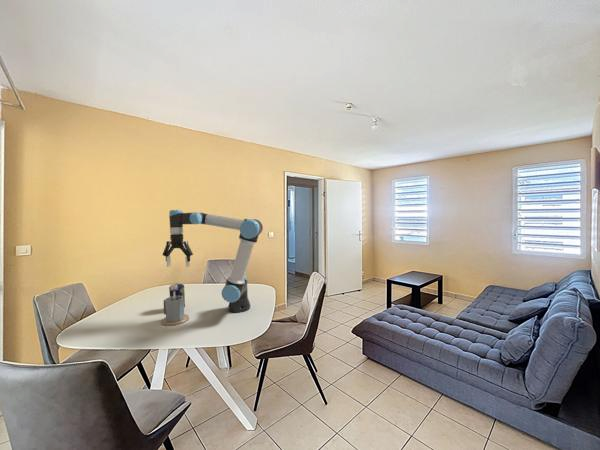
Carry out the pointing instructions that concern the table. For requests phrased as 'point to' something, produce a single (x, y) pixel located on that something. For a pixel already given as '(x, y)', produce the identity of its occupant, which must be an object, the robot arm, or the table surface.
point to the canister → (178, 292)
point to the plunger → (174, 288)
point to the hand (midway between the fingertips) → (178, 266)
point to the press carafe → (174, 311)
